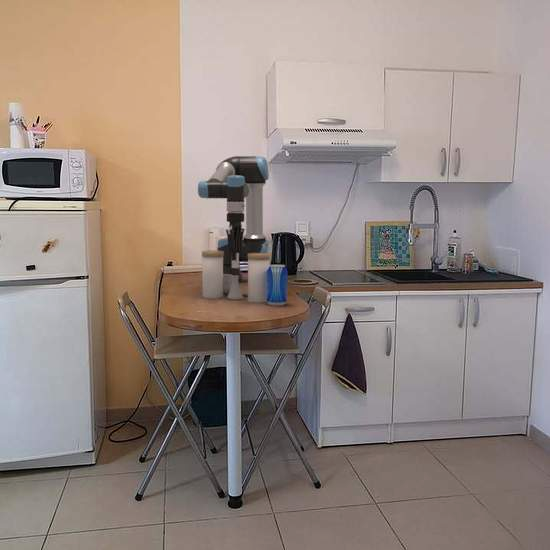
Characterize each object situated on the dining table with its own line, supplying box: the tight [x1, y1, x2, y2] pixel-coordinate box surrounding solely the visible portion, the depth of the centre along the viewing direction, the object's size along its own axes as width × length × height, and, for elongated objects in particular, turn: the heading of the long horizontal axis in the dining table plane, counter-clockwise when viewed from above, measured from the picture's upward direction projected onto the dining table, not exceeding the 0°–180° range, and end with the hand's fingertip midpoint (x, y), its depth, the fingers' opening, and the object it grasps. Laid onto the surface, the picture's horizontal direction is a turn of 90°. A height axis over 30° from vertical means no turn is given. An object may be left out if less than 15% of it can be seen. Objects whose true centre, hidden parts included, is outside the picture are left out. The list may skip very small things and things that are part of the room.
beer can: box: [266, 264, 288, 307], centre depth 222 cm, size 8×8×16 cm
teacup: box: [223, 274, 233, 293], centre depth 252 cm, size 14×11×8 cm
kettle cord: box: [223, 292, 248, 298], centre depth 241 cm, size 25×1×1 cm, turn 67°
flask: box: [226, 275, 244, 301], centre depth 234 cm, size 7×7×10 cm
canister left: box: [201, 250, 224, 300], centre depth 237 cm, size 9×9×20 cm
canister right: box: [247, 252, 271, 304], centre depth 229 cm, size 9×9×20 cm
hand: (235, 267), depth 233 cm, fingers closed
